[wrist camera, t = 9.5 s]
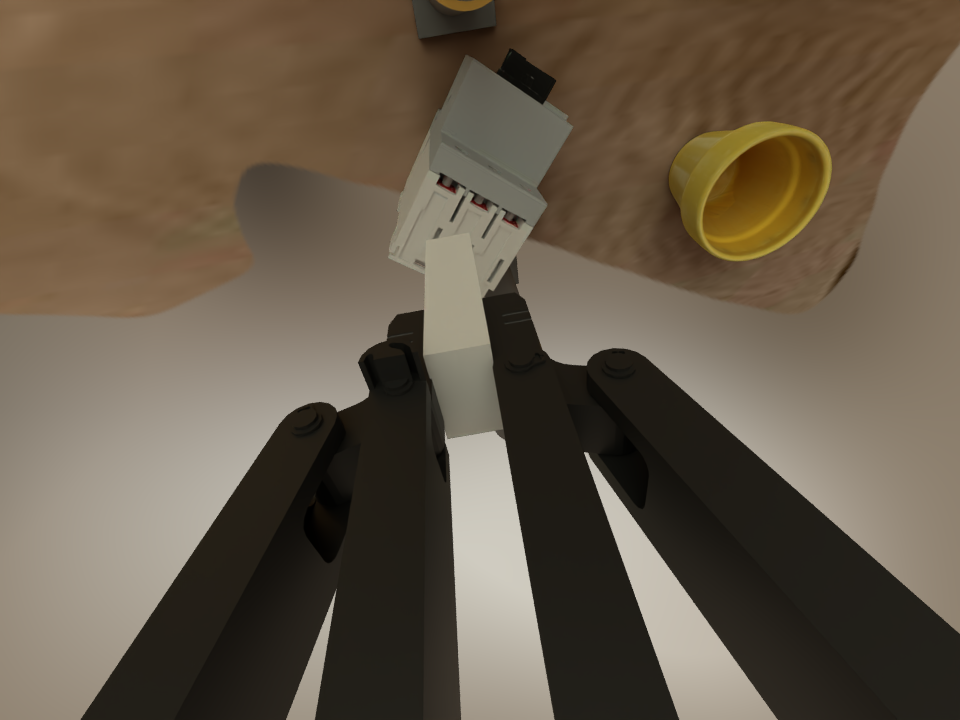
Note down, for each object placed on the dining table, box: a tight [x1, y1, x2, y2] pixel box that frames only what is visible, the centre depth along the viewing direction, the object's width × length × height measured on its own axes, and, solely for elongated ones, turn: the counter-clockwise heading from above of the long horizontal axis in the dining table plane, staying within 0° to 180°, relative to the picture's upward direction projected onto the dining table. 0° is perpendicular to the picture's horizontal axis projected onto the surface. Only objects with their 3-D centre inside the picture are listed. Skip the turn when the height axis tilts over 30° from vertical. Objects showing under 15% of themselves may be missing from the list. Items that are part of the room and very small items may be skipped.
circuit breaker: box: [388, 49, 573, 298], centre depth 33 cm, size 8×14×15 cm, turn 151°
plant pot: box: [669, 122, 832, 261], centre depth 38 cm, size 10×10×10 cm
